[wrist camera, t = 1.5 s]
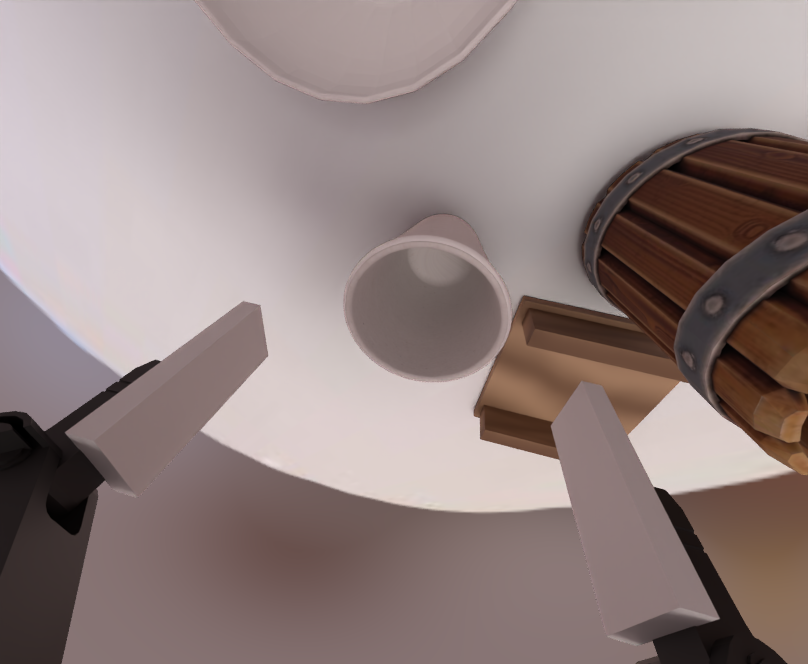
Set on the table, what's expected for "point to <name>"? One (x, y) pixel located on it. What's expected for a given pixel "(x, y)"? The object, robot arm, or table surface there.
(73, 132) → the table surface
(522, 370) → the rail stand
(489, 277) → the dixie cup
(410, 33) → the bowl
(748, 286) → the mug
